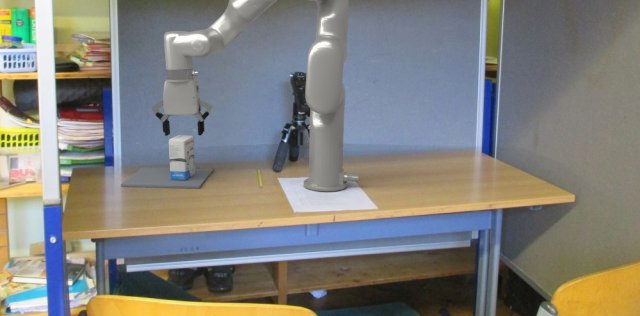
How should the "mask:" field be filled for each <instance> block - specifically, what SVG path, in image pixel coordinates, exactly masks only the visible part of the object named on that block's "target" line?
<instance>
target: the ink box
mask: <svg viewBox="0 0 640 316" xmlns="http://www.w3.org/2000/svg"><path fill="white" fill-rule="evenodd" d="M194 137H195V135H189V134H188V135H187V134H178V135H176V136H173V137H172V138H169V140H168V154H169V156H168V157H169V168H170V179H171V180H187V179H188V178H190V177H191V176H192V175H194V174H195V169H196V168H195V165H196V164H195V138H194Z"/></svg>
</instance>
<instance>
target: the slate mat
mask: <svg viewBox="0 0 640 316" xmlns="http://www.w3.org/2000/svg"><path fill="white" fill-rule="evenodd" d="M213 172H214V168H195V174H194V175H192V176H191V177H190V178H188V179H187V180H171V179H170V167H147V166H142V167H141V168H140V169H139V170H137V171H136V172H135V173H134V174H132V175H131V176H130V177H129V178H128V179H126V180H125V181H124V182H123V183H121V184H120V187H125V188H155V189H156V188H157V189H159V188H163V189H198V190H199V189H200V188H201V187H202V186H203V184H204V183H205V182H206V181H207V180H208V179H209V177H210V176H211V174H212V173H213Z"/></svg>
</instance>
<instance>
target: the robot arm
mask: <svg viewBox="0 0 640 316" xmlns="http://www.w3.org/2000/svg"><path fill="white" fill-rule="evenodd" d="M277 1H278V0H228V3H227V7H226V9H225V11H224V12H223V13H222V15H220V16H219V17H218V18H217V20H215V21H214V22H213V23H212V24H211V25H210V26H208V27H207V28H206V29H200V30H199V29H198V30H193V31H186V30H171V31H166V32H165V33H164V35H163V47H164V57H165V58H164V59H165V72H166V74H165V75H166V80H164V83H163V97H162V99H163V100H162V101H160V102H158V103H156V104H154V105H152V106H151V110H152V111H153V113H154V114H155V116H156V117H157V118H158V119H159V121H160V122H161V123H162V132H163V133H164V136H166V137H168V136H169V135H170V134H171V126H170V125H171V124H170V121H169V118H170V116H176V117H177V116H179V117H180V116H195V118H196V119H197V120H198V121H197V134H198V136H202V135H203V134H204V132H205V120H206V119H207V117H209V115H210V114H211V112H212V110H213V106H214V105H212V104H210V103H209V102H206V101H205V100H202V98H201V94H200V88H199V83H198V82H199V81H198V79H195V77H196V76H199V70H195V68H194V61H193V58H199V59H200V58H201V59H204V58H205V59H206V58H207V57H211V56H215V55H218V54H219V53H221V52H222V51H223V50H225V48H226V47H228V46H229V45H230V44H231V43H232V42H233V41H235V40H236V39H237V38H238V37H239V36H240V35H241V34H242V33H243V32H244V31H245V30H246V29H247V28H249V26H250V25H251V24H252V23H253V22H254V21H255V20H257V19H258V18H259V17H260V16H261V15H262V14H263V13H264V12H265V11H267V10H268V9H269V8H270V7H271V6H272V5H274V4H275V3H276V2H277ZM308 1H313V2H315V3H316V6H317V15H316V16H317V17H316V30H315V38H314V39H315V40H314V41H313V42H312V43H311V45H310V46H309V49H308V53H307V60H306V63H307V64H306V73H305V74H306V75H305V77H306V78H305V92H304V98H305V102H306V105H307V106H308V107H309V109H310V113H309V136H308V137H309V146H308V147H309V149H308V150H309V151H308V160H309V161H308V178H306V179H304V181H303V187H304V188H305V189H308V190H309V191H310V190H311V191H315V192H338V191H342V190H345V189H347V188H348V186H349V185H348V182H359V174H355V173H350V172H349V173H348V172H347V173H346V172H345V171H344V170H345V169H344V168H343V166H344V165H343V161H344V158H343V157H344V133H345V132H344V128H345V127H344V126H345V124H344V123H345V109H346V107H345V105H346V89H345V86H344V83H343V76H344V66H345V64H344V63H346V60H347V56H348V50H347V49H348V46H347V45H348V32H349V31H348V30H349V10H350V9H349V7H350V6H349V0H308ZM162 107H163V113H164V114H163V113H162V112H161V111H160V108H162ZM202 107H204V108H205V112H204V113H202Z"/></svg>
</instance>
